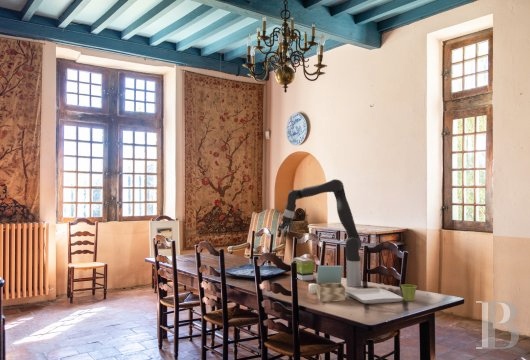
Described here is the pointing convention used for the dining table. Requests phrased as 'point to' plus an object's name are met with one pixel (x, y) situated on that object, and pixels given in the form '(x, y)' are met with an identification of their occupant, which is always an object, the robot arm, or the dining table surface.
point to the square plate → (373, 295)
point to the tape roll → (312, 288)
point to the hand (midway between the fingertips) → (281, 236)
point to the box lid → (329, 274)
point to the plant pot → (408, 292)
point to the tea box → (304, 268)
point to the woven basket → (330, 292)
